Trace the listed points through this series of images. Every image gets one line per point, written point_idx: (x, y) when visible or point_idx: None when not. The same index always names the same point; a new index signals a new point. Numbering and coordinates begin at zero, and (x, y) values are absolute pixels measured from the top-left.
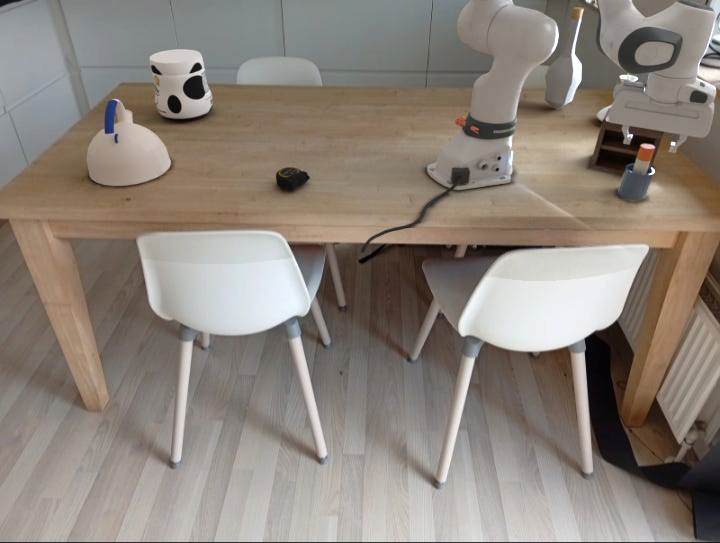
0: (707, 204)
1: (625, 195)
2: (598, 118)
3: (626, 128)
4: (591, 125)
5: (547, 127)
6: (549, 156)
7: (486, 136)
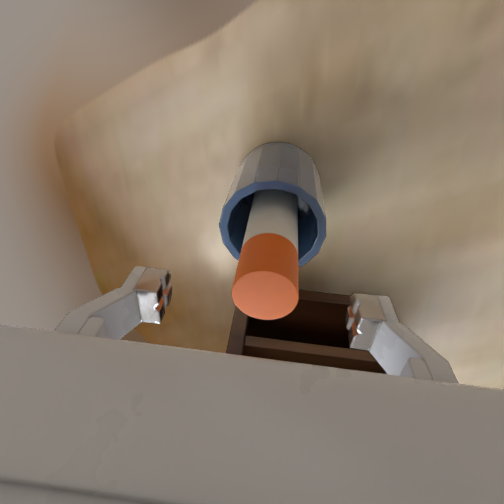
0: (85, 210)
1: (298, 151)
2: None
3: (423, 365)
4: None
5: None
6: (497, 330)
7: None
